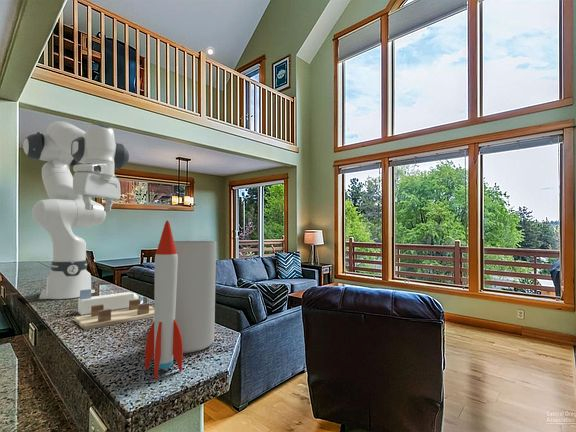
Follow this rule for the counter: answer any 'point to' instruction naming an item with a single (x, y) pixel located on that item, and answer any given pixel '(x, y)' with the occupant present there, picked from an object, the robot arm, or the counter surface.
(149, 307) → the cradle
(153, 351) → the toy rocket
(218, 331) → the counter surface
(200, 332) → the cylinder vase
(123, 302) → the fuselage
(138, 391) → the counter surface
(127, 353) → the counter surface
